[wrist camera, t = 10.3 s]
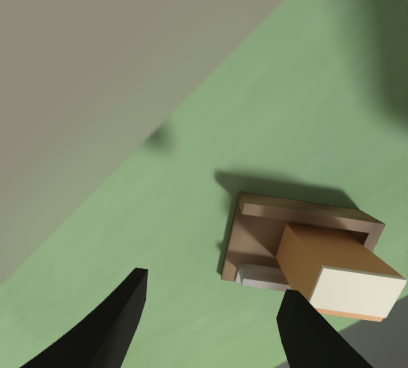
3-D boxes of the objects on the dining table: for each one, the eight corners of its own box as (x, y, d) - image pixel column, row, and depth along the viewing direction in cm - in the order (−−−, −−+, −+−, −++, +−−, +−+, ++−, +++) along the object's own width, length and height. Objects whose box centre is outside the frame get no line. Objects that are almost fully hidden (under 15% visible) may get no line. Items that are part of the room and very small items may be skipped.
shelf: (360, 210, 19) (385, 224, 16) (326, 290, 22) (342, 313, 19) (239, 191, 19) (244, 202, 16) (221, 275, 22) (222, 297, 19)
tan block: (346, 231, 19) (409, 280, 13) (332, 265, 20) (383, 324, 14) (286, 222, 19) (322, 268, 13) (275, 257, 20) (303, 313, 14)
